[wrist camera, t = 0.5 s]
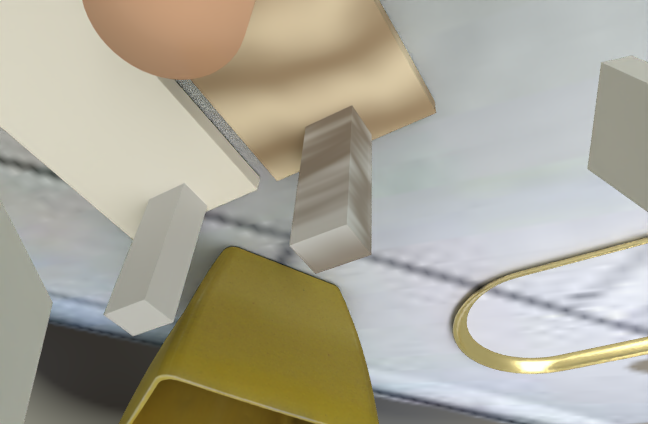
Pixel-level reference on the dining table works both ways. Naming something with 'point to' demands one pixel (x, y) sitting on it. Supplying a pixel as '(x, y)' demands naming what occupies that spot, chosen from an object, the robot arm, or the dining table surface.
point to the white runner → (117, 147)
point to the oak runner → (320, 111)
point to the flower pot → (258, 353)
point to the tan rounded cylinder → (172, 33)
